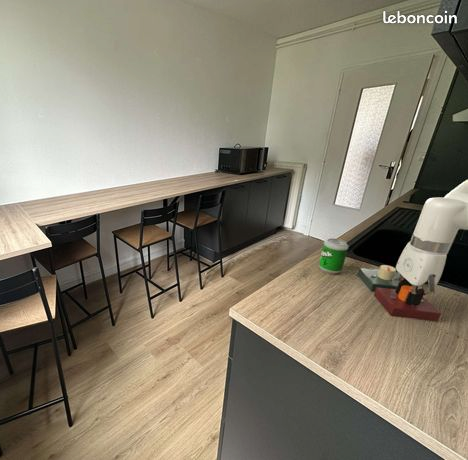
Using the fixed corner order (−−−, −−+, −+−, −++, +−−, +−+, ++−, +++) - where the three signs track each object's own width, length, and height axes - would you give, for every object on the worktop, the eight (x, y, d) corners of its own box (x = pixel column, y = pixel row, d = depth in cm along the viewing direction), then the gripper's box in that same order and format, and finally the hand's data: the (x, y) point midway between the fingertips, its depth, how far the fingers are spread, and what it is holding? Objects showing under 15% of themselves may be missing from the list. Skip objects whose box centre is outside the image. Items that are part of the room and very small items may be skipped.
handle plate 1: (392, 278, 90) (395, 270, 88) (410, 295, 81) (413, 287, 80) (357, 275, 92) (359, 267, 91) (370, 291, 83) (373, 283, 82)
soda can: (339, 266, 98) (347, 239, 93) (342, 276, 92) (351, 247, 87) (317, 263, 101) (323, 236, 96) (319, 272, 95) (326, 244, 90)
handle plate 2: (414, 299, 79) (418, 291, 78) (437, 321, 70) (441, 312, 69) (373, 294, 82) (376, 286, 80) (390, 316, 73) (394, 307, 72)
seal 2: (395, 293, 77) (400, 283, 76) (413, 297, 75) (417, 286, 74) (399, 301, 74) (404, 290, 72) (417, 305, 72) (422, 294, 71)
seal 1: (376, 272, 88) (380, 263, 86) (391, 276, 86) (395, 266, 84) (377, 278, 85) (381, 268, 83) (393, 281, 83) (397, 271, 81)
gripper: (395, 230, 76) (377, 281, 83) (434, 257, 61) (408, 316, 68) (425, 232, 74) (404, 284, 81) (473, 260, 59) (442, 320, 66)
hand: (406, 298), depth 75 cm, fingers open, 4 cm apart
